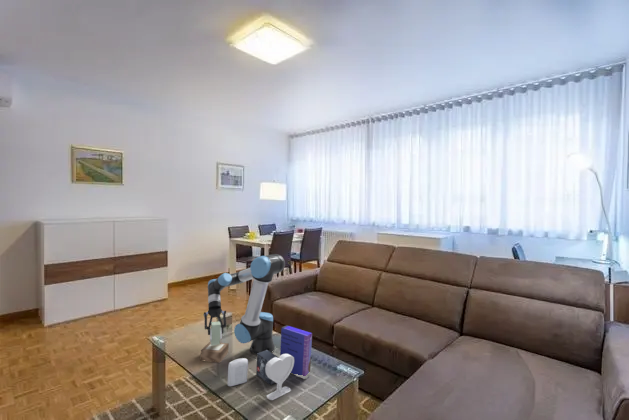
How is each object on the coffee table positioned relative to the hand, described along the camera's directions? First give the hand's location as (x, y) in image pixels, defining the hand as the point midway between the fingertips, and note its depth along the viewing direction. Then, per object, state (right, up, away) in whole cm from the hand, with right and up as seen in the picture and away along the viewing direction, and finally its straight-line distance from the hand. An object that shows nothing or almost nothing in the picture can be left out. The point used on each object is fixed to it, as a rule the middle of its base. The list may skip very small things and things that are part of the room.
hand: (216, 339), depth 186 cm
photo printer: (+18, -14, -22) cm, 32 cm away
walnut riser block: (-2, -12, +4) cm, 13 cm away
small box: (+33, -14, -16) cm, 39 cm away
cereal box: (+47, -15, -10) cm, 50 cm away
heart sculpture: (+40, -15, -29) cm, 52 cm away
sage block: (-2, -4, +4) cm, 5 cm away
